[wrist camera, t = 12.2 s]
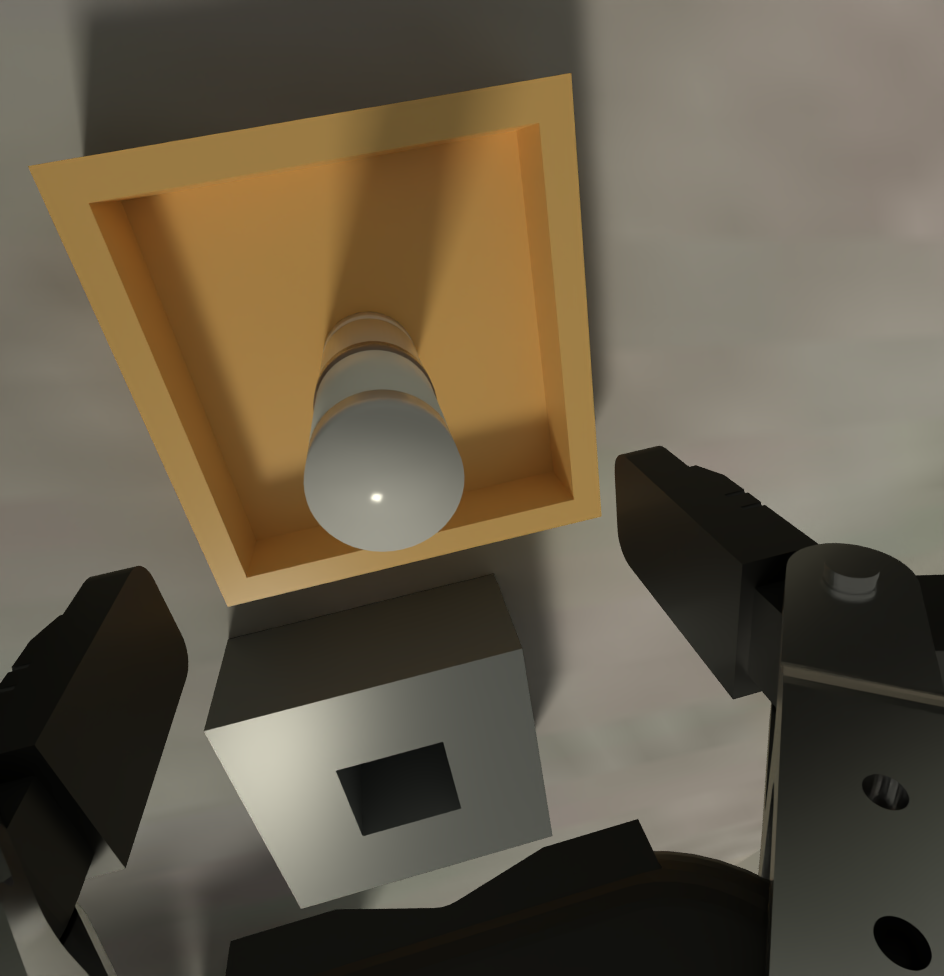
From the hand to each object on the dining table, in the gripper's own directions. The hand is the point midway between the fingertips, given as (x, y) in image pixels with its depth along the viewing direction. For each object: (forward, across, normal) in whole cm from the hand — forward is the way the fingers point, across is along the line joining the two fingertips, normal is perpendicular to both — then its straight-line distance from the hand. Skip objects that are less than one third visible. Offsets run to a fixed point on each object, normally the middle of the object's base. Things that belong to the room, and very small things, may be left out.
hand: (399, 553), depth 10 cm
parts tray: (+13, 0, 0) cm, 13 cm away
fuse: (+12, 0, 0) cm, 12 cm away
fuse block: (+13, +3, +17) cm, 21 cm away
